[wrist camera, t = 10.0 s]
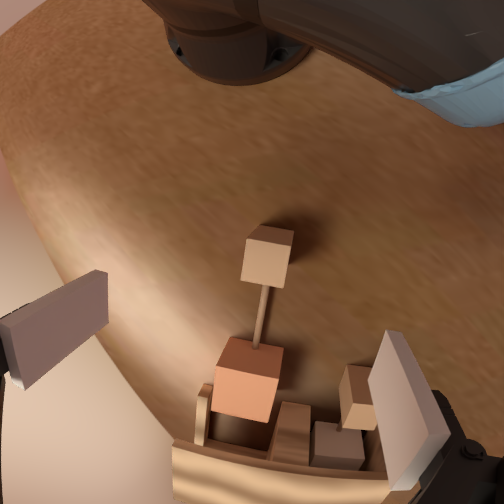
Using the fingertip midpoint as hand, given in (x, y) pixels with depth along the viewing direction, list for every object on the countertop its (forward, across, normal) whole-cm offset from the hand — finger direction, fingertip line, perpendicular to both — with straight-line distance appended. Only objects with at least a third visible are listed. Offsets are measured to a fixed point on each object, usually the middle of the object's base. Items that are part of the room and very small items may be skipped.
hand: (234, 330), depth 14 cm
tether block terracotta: (+19, 0, -8) cm, 20 cm away
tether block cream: (+19, +12, -20) cm, 30 cm away
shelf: (+18, +6, -24) cm, 31 cm away
